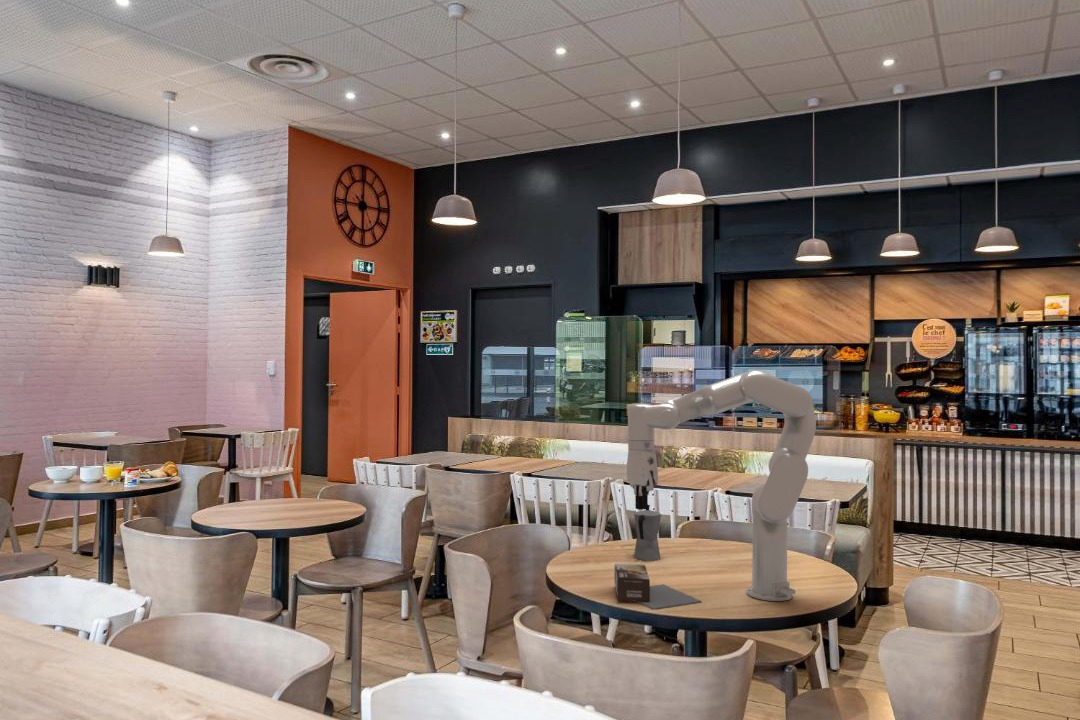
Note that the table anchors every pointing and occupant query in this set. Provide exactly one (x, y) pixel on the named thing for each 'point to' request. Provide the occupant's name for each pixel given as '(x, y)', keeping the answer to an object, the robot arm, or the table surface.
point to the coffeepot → (647, 535)
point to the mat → (667, 598)
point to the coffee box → (632, 582)
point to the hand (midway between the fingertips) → (641, 508)
